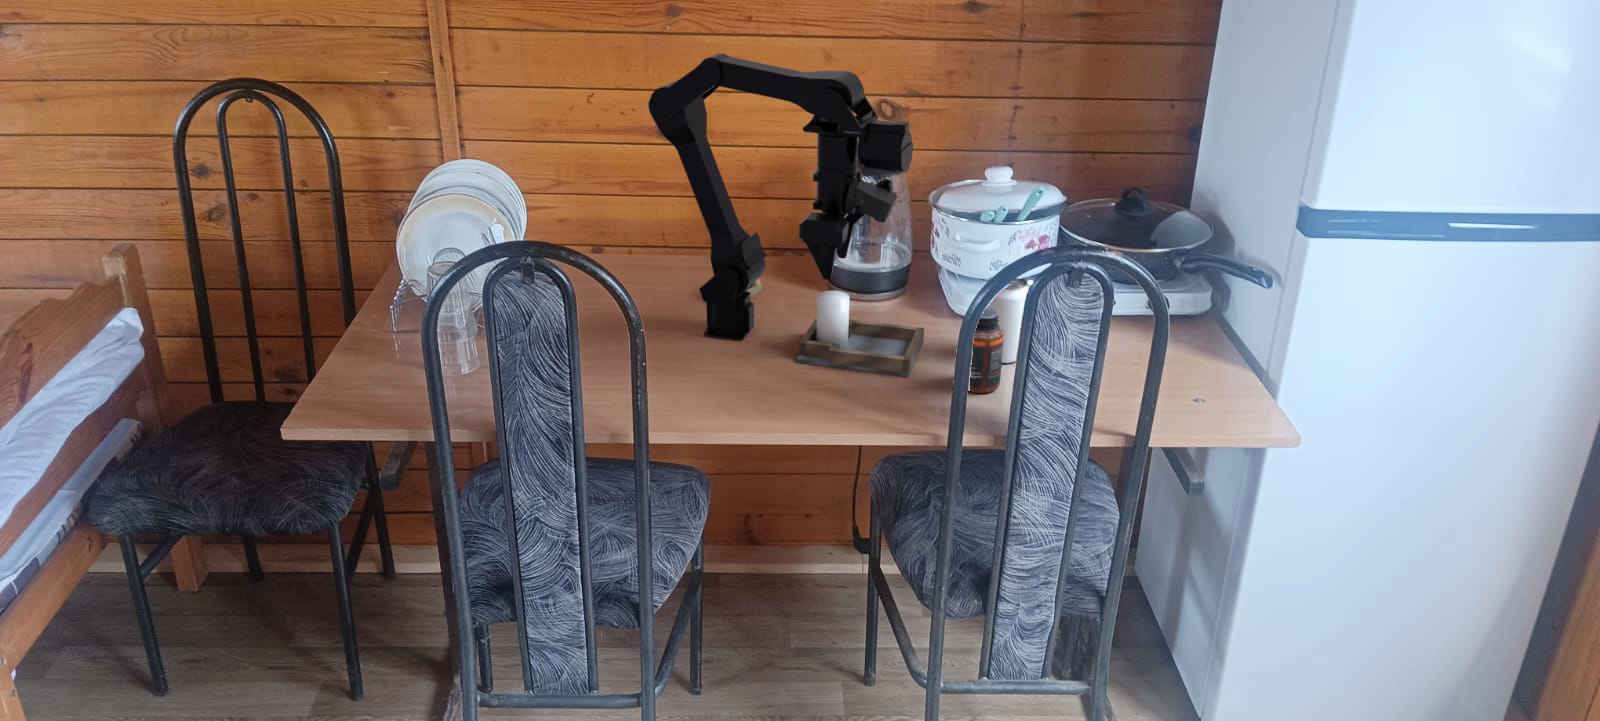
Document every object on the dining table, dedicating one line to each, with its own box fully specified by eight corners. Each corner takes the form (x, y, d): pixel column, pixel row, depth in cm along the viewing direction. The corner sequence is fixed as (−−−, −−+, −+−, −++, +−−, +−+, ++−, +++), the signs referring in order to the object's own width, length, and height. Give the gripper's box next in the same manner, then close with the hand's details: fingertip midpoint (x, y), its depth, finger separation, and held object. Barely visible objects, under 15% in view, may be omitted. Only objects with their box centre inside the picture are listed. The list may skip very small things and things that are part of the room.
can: (1022, 366, 169) (1029, 291, 164) (977, 362, 171) (984, 287, 165) (1023, 349, 175) (1031, 275, 170) (980, 344, 176) (986, 271, 171)
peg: (812, 350, 173) (813, 300, 169) (820, 337, 177) (821, 289, 173) (843, 353, 171) (845, 304, 168) (851, 341, 176) (852, 292, 172)
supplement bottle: (1003, 380, 165) (1010, 307, 161) (995, 397, 160) (1002, 323, 156) (962, 373, 167) (967, 301, 162) (953, 391, 162) (958, 317, 157)
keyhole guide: (796, 362, 170) (797, 346, 169) (817, 330, 180) (817, 315, 179) (909, 376, 166) (910, 360, 165) (923, 343, 177) (924, 328, 175)
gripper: (879, 187, 152) (875, 297, 159) (905, 152, 169) (900, 252, 175) (798, 180, 155) (797, 288, 162) (831, 146, 171) (829, 245, 178)
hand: (834, 268), depth 169 cm, fingers open, 9 cm apart
